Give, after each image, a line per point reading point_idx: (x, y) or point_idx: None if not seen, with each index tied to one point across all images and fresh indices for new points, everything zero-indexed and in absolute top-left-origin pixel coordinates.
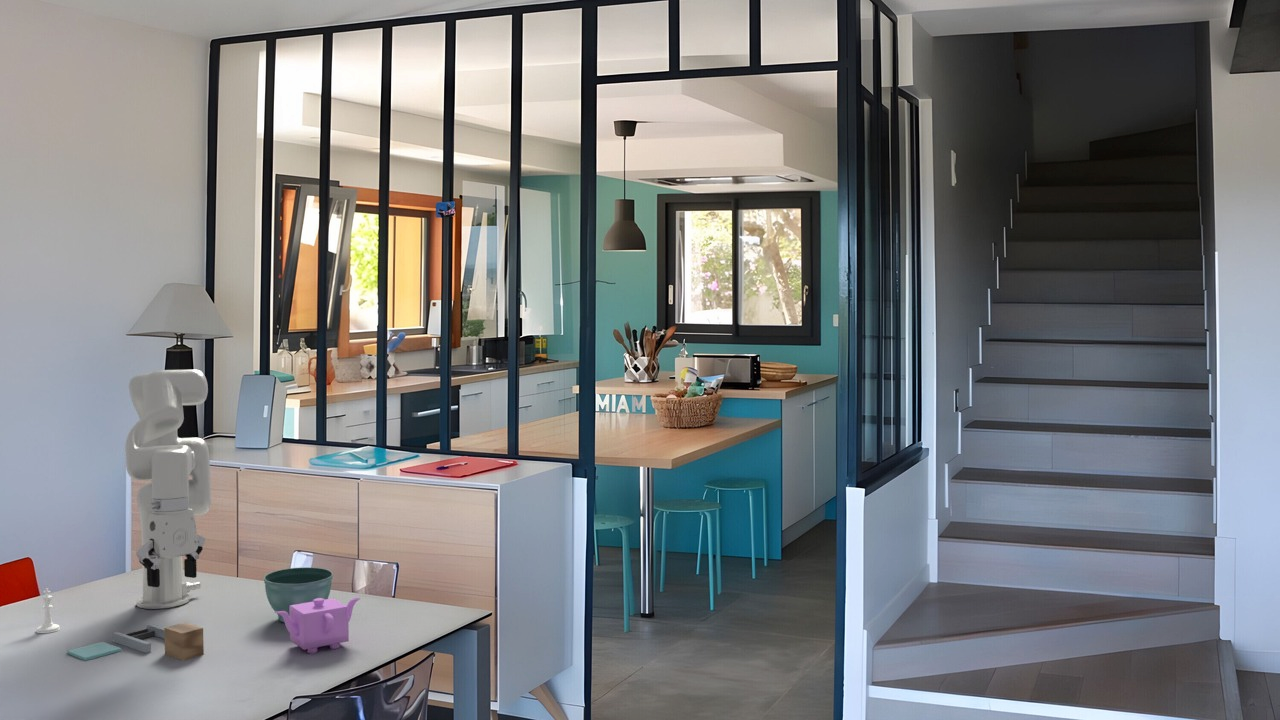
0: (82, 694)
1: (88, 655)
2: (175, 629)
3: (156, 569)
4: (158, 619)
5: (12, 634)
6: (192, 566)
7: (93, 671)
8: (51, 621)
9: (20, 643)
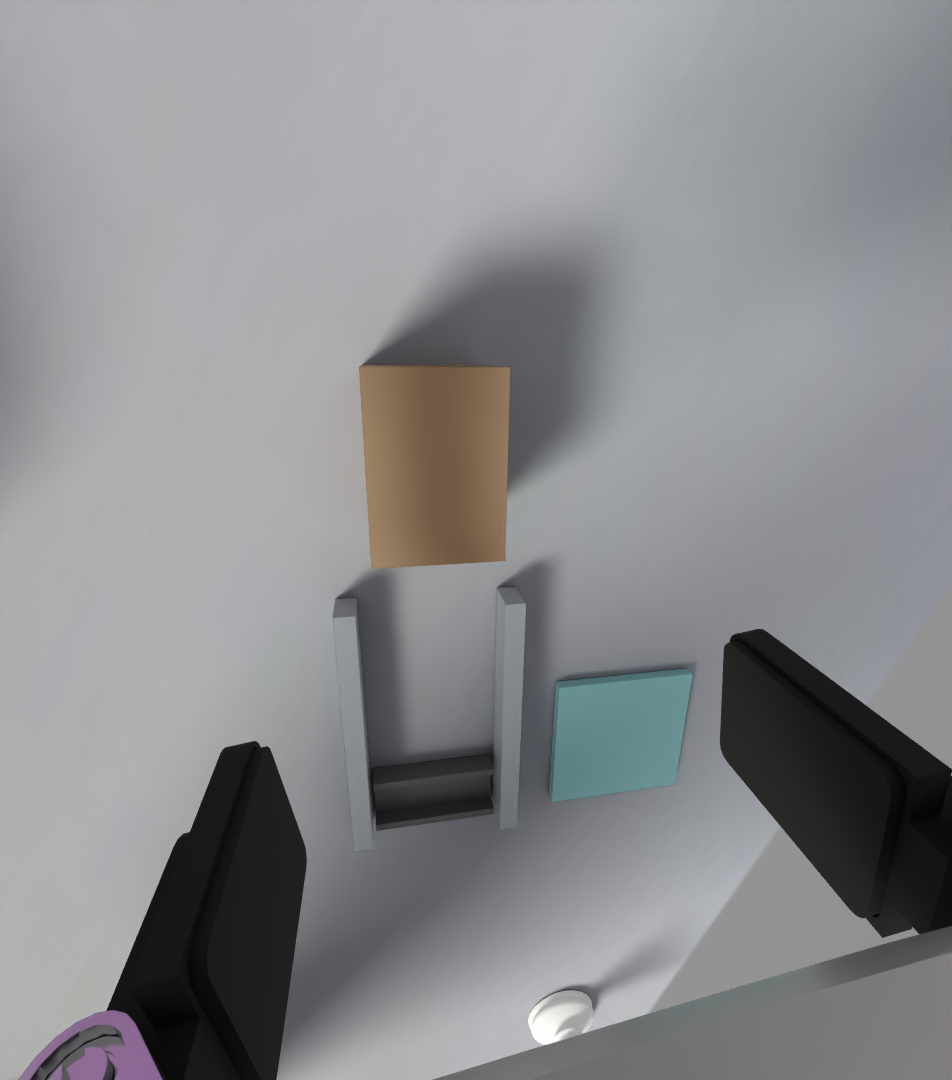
0: (938, 300)
1: (671, 690)
2: (486, 480)
3: (945, 777)
4: None
5: None
6: (235, 883)
7: (749, 531)
8: None
9: (674, 943)
